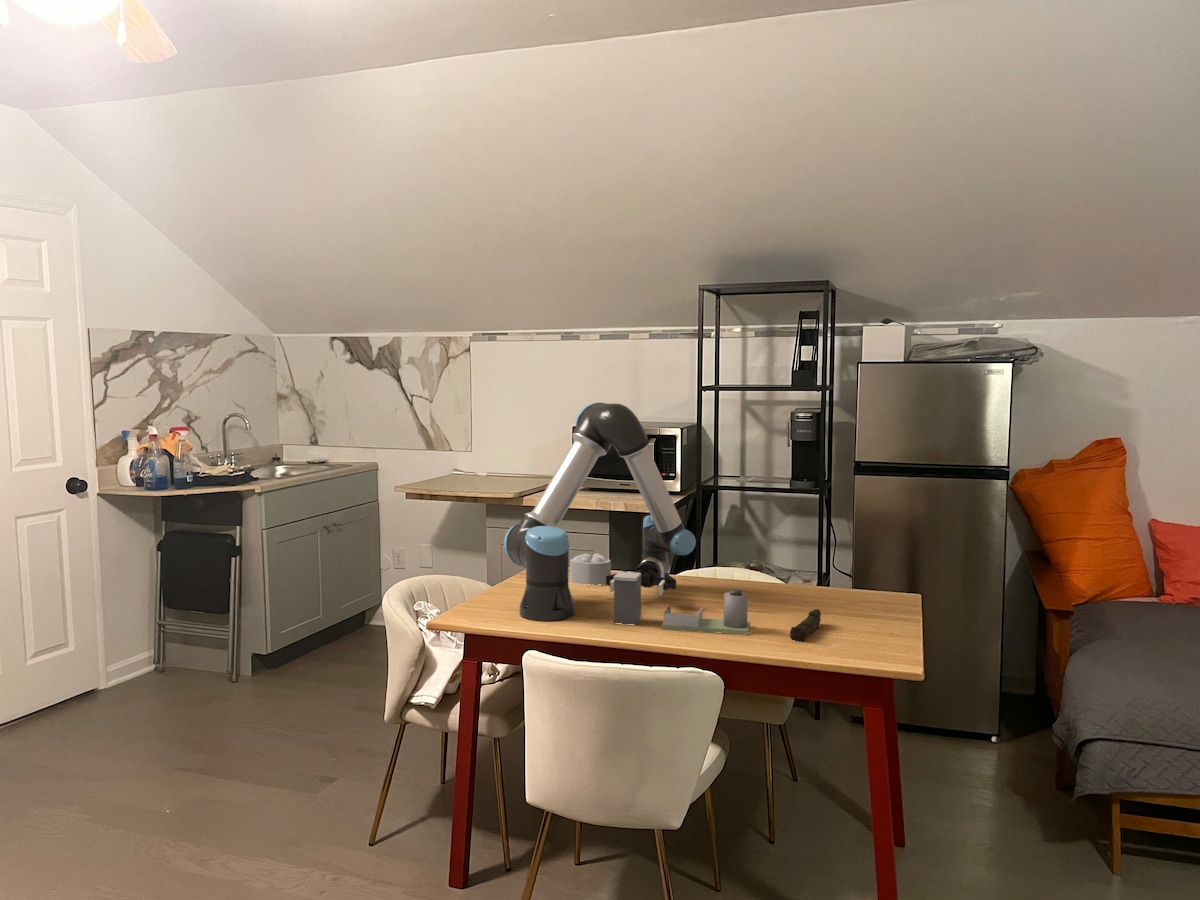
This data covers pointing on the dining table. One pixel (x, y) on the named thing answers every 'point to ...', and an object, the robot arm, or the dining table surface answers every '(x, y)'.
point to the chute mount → (682, 618)
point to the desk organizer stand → (725, 616)
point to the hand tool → (806, 626)
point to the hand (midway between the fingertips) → (635, 588)
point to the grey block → (627, 597)
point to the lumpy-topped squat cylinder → (589, 569)
